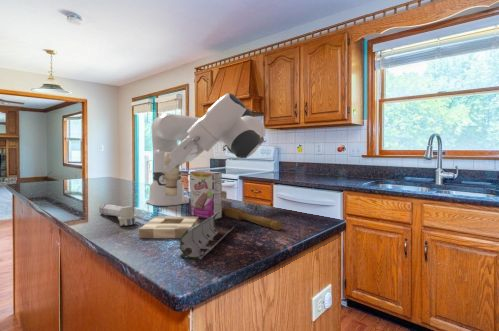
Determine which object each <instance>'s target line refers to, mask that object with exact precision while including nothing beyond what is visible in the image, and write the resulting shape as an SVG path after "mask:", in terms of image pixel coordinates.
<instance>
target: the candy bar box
mask: <svg viewBox="0 0 499 331" xmlns="http://www.w3.org/2000/svg"><path fill="white" fill-rule="evenodd" d="M222 179H223V178H222V172H218V171H217V172H216V171H206V170H194V171H190V172H189V185H190V187H189V188H190V190H189V191H190V197H189V200H190V217H198V219H199V218H201V219H204V220H206V219H207V218H209V217H211V216H213V215H214V214H216V213H218V212H219V211H221V212H219V213H218V214H217V215H216V216H215V221H216V220H218V219H219V220H220V219H221V218H222V217H223V216H222V215H223V214H222V207H223V206H222V205H223V203H222V202H223V198H222V197H223V196H222V195H223V193H222V191H223V190H222V187H223V186H222V185H223V184H222V183H223V182H222V181H223V180H222Z"/></svg>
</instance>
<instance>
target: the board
mask: <svg viewBox="0 0 499 331" xmlns="http://www.w3.org/2000/svg"><path fill="white" fill-rule="evenodd" d="M198 223H199V217H194V216H154V217H153V218H152V219H150V220H149V221H148V222H147V223H145V224H144V225H142V226H141V227H140V228H138V238H139V239H180V238H181V236H182V235H183V234H184V233H185V232H186V231H187V230H188V229H189V228H192V227H194V226H196V225H198Z"/></svg>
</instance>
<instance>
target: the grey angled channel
mask: <svg viewBox="0 0 499 331" xmlns="http://www.w3.org/2000/svg"><path fill="white" fill-rule="evenodd" d="M219 212H221V211H219ZM219 212H218V213H219ZM218 213H216V214H214V215H213V216H211V217H209V218H207V219H204V220H203V221H200V222H198V225H196V226H194V227H192V228H189V229H188V230H187V231H186V232H185V233H184V234H183V235H182V236H181V238H179V248H178V249H179V250H180V251H181V254H180V255H179V257H180V258H181V259H185V258H186V257H187V258H189V259H191V260H202V259H203V258H204V257H205V256H206V255H207V254H208V253H210V251H212V250H213V249H214V247H216V246H217V245H218V244H219V243H220V242H221V241H222V240H223V239H225V237H226V236H227V235H228V234H229V233H230V232H231V231H232V230H233V229H234V228H235V226H233V227H232V228H231V229H228V231H227V232H226V233H225V234H223V236H221V238H219V240H217V242H215V243H214V244H213V245H212V246H210V245H209V246H208V244H210V243H209V241H212V242H213V241H214V238H215V236H216V235H217V234H218V233H219V232H221V229H219V228H218V227H217V226H216V220H215V216H216V215H217V214H218ZM201 249H203V250H205V249H207V250H206V251H205V252H204V251H201Z"/></svg>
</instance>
